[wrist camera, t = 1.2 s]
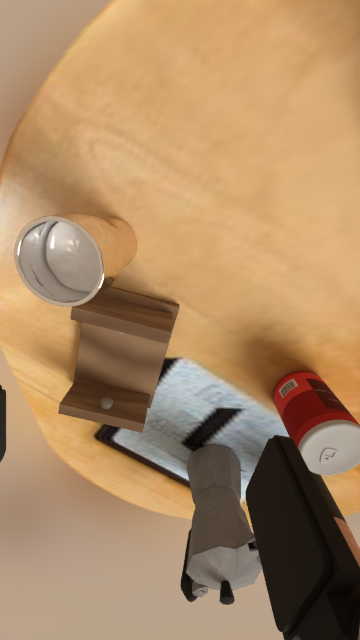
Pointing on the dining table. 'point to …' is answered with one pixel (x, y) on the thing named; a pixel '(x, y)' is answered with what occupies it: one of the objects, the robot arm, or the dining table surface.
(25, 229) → the beer glass
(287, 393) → the canned food
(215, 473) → the coffeepot
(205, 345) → the dining table surface
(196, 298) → the dining table surface
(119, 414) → the holder
